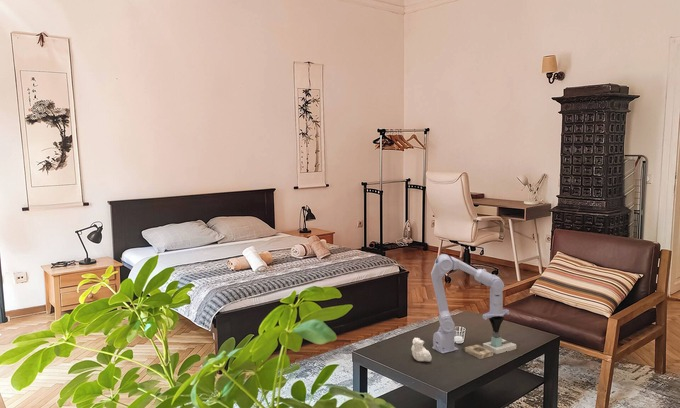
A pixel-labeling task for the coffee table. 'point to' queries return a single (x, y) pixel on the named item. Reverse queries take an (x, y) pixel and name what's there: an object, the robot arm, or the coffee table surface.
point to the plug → (496, 340)
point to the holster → (482, 354)
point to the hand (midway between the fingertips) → (495, 331)
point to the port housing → (503, 348)
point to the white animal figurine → (420, 351)
